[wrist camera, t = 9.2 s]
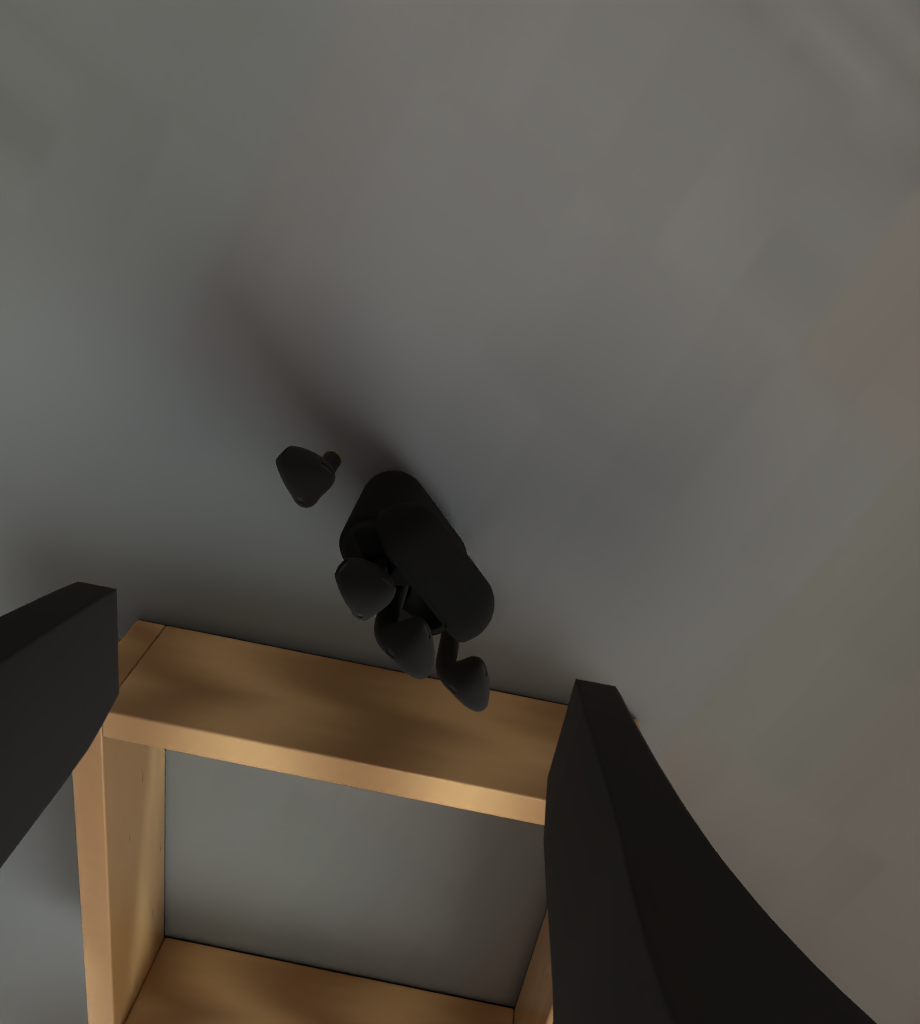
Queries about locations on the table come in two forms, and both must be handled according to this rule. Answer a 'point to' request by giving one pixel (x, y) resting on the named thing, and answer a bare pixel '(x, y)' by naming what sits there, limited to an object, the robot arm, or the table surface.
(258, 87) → the table surface
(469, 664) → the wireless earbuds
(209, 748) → the wooden frame
